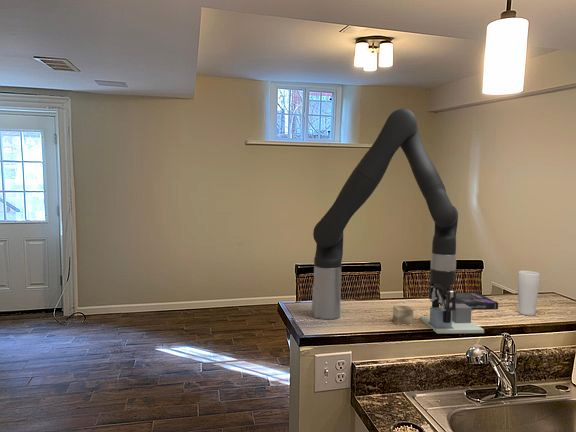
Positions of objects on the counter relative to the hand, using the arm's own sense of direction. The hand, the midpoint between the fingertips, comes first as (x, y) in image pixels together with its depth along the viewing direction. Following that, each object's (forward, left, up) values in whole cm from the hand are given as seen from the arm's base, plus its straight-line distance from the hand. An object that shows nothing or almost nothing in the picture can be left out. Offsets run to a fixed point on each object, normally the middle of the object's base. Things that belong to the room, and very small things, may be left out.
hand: (440, 318), depth 141 cm
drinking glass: (+38, +14, -4) cm, 41 cm away
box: (+21, +27, -4) cm, 34 cm away
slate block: (0, 0, -2) cm, 2 cm away
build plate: (+4, +2, -3) cm, 6 cm away
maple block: (-10, +6, -3) cm, 12 cm away
